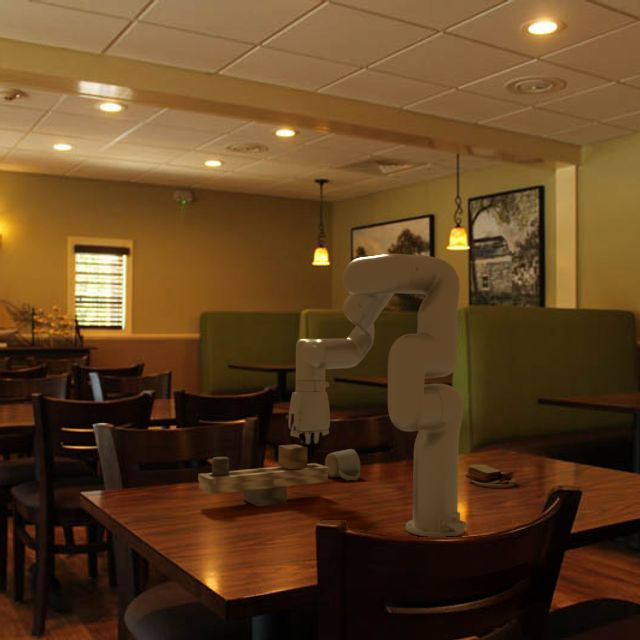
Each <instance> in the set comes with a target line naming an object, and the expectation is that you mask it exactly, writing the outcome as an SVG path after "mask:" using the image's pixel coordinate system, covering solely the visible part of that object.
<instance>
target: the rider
mask: <svg viewBox="0 0 640 640" xmlns="http://www.w3.org/2000/svg"><path fill="white" fill-rule="evenodd" d="M307 464H308V459H307V447H303V445H299V444H286V445H285V444H282V445H278V467H281V466H282V467H284V468H283V470H293V469H302V468H307Z"/></svg>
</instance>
